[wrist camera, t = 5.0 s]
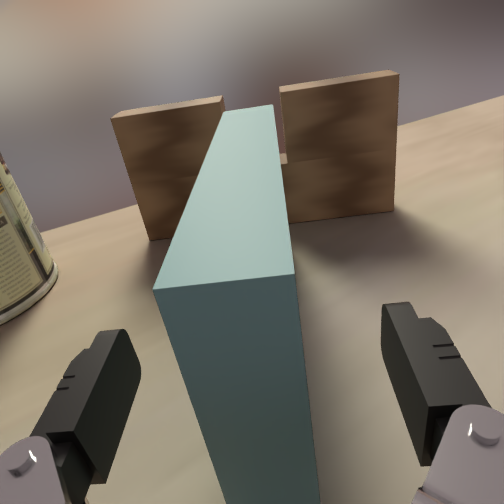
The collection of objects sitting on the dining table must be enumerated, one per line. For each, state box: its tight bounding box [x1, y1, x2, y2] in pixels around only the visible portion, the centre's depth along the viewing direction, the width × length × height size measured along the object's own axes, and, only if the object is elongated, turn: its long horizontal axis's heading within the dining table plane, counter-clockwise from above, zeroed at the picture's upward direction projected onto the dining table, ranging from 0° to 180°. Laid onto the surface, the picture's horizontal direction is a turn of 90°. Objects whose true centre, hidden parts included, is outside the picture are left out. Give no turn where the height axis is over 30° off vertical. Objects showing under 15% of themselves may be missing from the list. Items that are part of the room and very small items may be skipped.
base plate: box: [110, 70, 399, 240], centre depth 30 cm, size 20×2×10 cm, turn 89°
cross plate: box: [152, 105, 320, 504], centre depth 18 cm, size 3×18×10 cm, turn 179°
